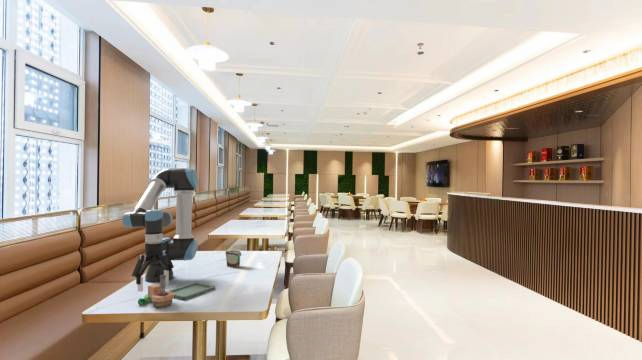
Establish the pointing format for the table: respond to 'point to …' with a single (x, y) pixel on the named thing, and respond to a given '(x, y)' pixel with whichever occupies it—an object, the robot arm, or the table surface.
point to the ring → (155, 294)
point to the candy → (144, 300)
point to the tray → (191, 290)
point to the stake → (162, 293)
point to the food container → (233, 258)
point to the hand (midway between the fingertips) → (153, 287)
